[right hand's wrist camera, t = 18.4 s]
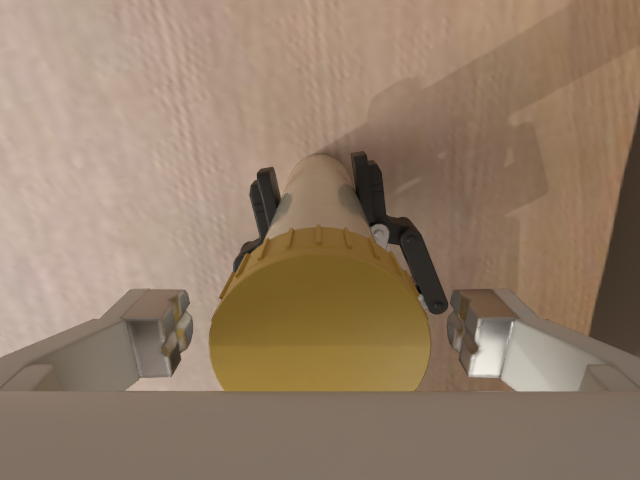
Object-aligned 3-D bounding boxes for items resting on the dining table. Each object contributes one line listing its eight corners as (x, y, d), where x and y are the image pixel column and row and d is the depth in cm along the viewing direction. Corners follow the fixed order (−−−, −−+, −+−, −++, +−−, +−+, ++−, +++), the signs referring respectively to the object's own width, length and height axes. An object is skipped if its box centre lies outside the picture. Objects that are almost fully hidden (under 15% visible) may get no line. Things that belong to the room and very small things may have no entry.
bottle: (357, 163, 26) (435, 281, 8) (340, 220, 27) (377, 418, 10) (297, 147, 25) (248, 237, 8) (283, 206, 27) (218, 387, 10)
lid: (190, 328, 10) (164, 373, 9) (298, 181, 9) (293, 200, 7) (336, 412, 11) (339, 466, 10) (454, 296, 10) (482, 336, 8)
